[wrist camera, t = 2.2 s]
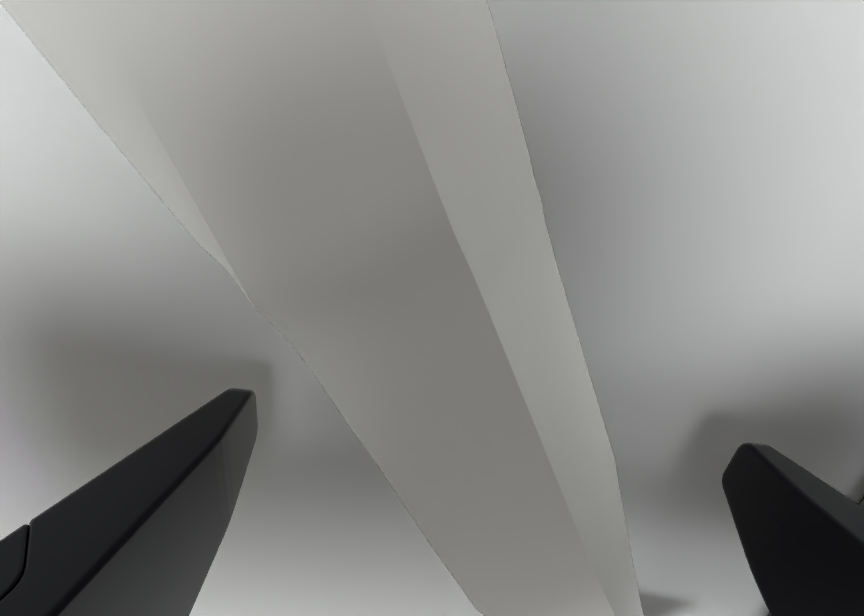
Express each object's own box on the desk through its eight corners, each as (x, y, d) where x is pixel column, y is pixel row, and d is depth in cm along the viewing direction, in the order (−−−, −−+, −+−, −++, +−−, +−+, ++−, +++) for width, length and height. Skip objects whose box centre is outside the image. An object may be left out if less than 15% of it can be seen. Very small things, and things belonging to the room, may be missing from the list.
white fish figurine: (467, -294, 5) (521, -897, 2) (695, 611, 13) (783, 813, 10) (65, -57, 6) (-381, -159, 3) (501, 648, 14) (521, 843, 11)
